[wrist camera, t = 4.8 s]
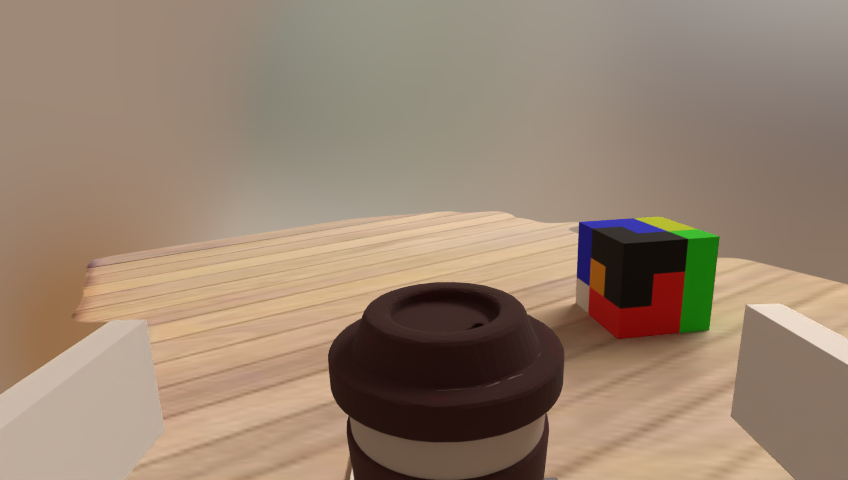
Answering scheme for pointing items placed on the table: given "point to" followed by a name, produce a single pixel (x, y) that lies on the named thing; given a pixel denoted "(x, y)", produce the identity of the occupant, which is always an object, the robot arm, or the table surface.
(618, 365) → the table surface
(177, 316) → the table surface
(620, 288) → the puzzle toy
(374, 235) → the table surface
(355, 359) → the coffee cup
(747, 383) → the robot arm
